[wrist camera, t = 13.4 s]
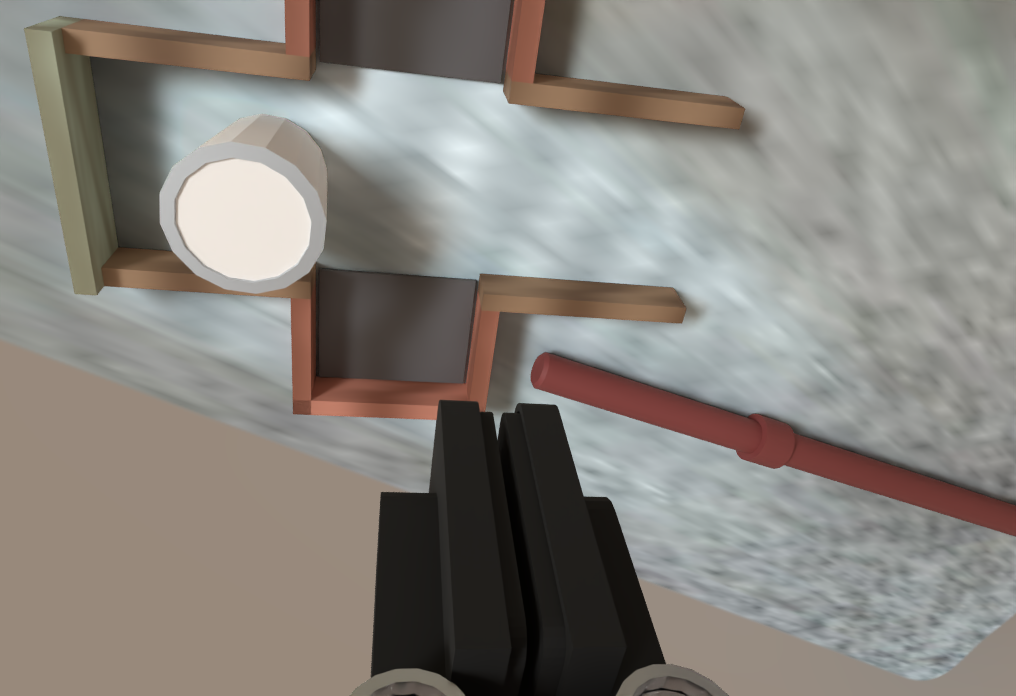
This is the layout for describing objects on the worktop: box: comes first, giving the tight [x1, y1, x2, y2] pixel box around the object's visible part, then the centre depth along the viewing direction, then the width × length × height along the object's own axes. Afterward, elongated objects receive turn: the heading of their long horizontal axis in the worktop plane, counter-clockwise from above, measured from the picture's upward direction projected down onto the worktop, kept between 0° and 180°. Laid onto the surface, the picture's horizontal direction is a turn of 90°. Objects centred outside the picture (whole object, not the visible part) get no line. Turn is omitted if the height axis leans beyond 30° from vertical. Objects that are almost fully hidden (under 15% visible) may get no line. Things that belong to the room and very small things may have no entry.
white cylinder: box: [159, 114, 327, 294], centre depth 34 cm, size 7×7×7 cm
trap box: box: [24, 0, 745, 420], centre depth 36 cm, size 32×27×4 cm
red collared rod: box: [531, 352, 1016, 536], centre depth 50 cm, size 45×3×3 cm, turn 66°
